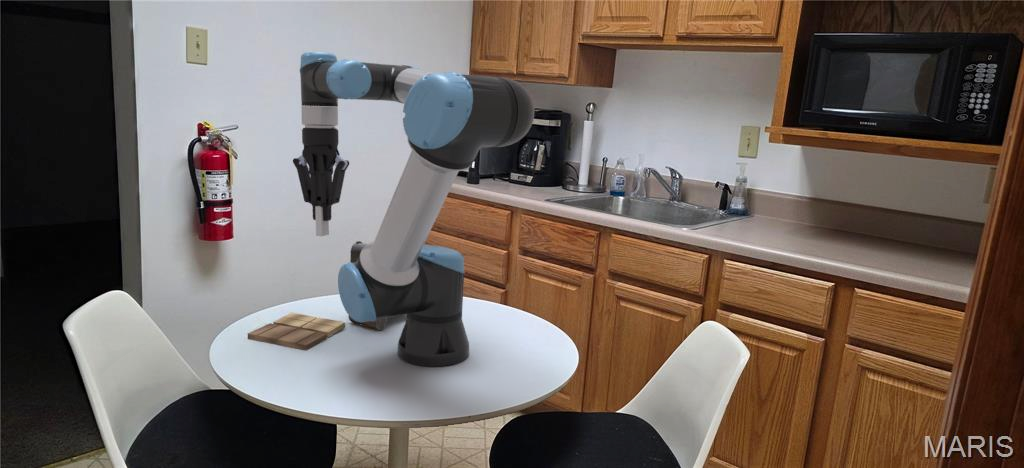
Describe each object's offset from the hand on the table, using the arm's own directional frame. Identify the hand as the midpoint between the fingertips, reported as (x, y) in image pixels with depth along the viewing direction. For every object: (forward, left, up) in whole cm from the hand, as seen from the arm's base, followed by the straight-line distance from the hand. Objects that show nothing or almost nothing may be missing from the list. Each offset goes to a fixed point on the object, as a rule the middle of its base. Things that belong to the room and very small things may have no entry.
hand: (322, 235), depth 148 cm
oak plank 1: (+8, -1, -22) cm, 24 cm away
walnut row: (+4, +7, -23) cm, 24 cm away
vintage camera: (-8, -14, -23) cm, 28 cm away
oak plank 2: (0, -1, -22) cm, 22 cm away
